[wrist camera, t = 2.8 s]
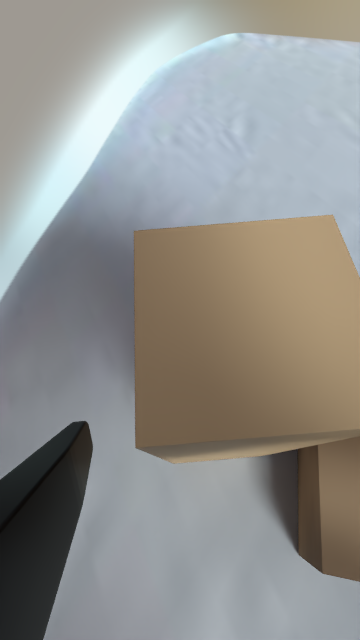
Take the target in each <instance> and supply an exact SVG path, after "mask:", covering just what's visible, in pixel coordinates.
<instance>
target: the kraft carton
mask: <svg viewBox="0 0 360 640" xmlns="http://www.w3.org/2000/svg"><path fill="white" fill-rule="evenodd" d="M134 311H135V445H136V448H137V449H139V450H142V451H144V452H147V453H149V454H152V455H154V456H156V457H159V458H161V459H164V460H166V461H169V462H171V463H174V464H175V463H186V462H198V461H210V460H221V459H233V458H245V457H256V456H264V455H269V454H274V453H279V452H284V451H289V450H294V449H299V448H304V447H309V446H314V445H319V444H323V443H328V442H333V441H338V440H343V439H348V438H353V437H358V436H360V277H359V275H358V273H357V270H356V268H355V266H354V263H353V261H352V259H351V256H350V254H349V251H348V249H347V247H346V244H345V242H344V240H343V237H342V235H341V233H340V230H339V228H338V226H337V223H336V221H335V219H334V216H333V215H324V216H312V217H300V218H287V219H275V220H262V221H250V222H238V223H225V224H213V225H200V226H188V227H176V228H163V229H151V230H139V231H134Z"/></svg>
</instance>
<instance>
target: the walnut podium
mask: <svg viewBox="0 0 360 640" xmlns="http://www.w3.org/2000/svg"><path fill="white" fill-rule="evenodd" d="M298 544H299V556H301V557H302V558H303V559H305V560H306V561H307V562H308V563H310V564H311V565H312V566H314V567H315V568H316V569H317V570H319V571H320V572H321V573H323V574H327V575H332V576H336V577H341V578H345V579H350V580H355V581H359V582H360V436H358V437H353V438H348V439H343V440H338V441H333V442H328V443H323V444H319V445H314V446H309V447H304V448H299V449H298Z"/></svg>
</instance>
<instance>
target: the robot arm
mask: <svg viewBox="0 0 360 640" xmlns="http://www.w3.org/2000/svg"><path fill="white" fill-rule="evenodd" d="M92 451H93V444H92V439H91V434H90V429H89V425H88V423H87V422H86V421H79V422H72V423H71V424H70V425H68V426H67V427H66V428H65V429H63V430H62V431H61V432H60V433H58V434H57V435H56V436H55V437H53V438H52V439H51V440H50V441H48V442H47V443H46V444H45V445H43V446H42V447H41V448H40V449H38V450H37V451H36V452H35V453H33V454H32V455H31V456H30V457H28V458H27V459H26V460H25V461H23V462H22V463H21V464H20V465H18V466H17V467H16V468H15V469H13V470H12V471H11V472H10V473H8V474H7V475H6V476H4V477H3V478H2V479H1V480H0V640H43V638H44V635H45V631H46V628H47V625H48V621H49V618H50V614H51V611H52V608H53V604H54V601H55V597H56V594H57V591H58V587H59V584H60V580H61V577H62V574H63V570H64V567H65V563H66V560H67V557H68V553H69V550H70V546H71V543H72V540H73V536H74V533H75V529H76V526H77V523H78V519H79V516H80V512H81V509H82V505H83V500H84V495H85V490H86V485H87V479H88V474H89V468H90V463H91V457H92Z"/></svg>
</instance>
